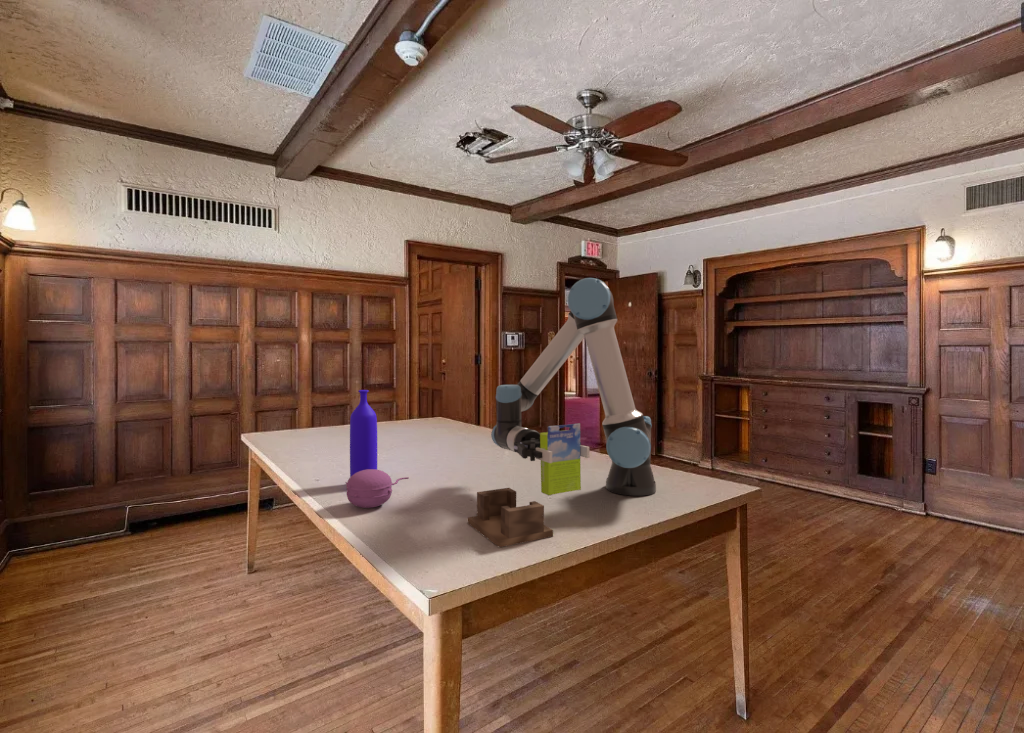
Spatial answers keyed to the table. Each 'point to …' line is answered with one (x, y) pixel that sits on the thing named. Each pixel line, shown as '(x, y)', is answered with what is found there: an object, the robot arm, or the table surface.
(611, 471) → the robot arm
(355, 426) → the bottle
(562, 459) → the box
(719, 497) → the table surface
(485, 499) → the slot stand
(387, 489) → the pink toy mouse
